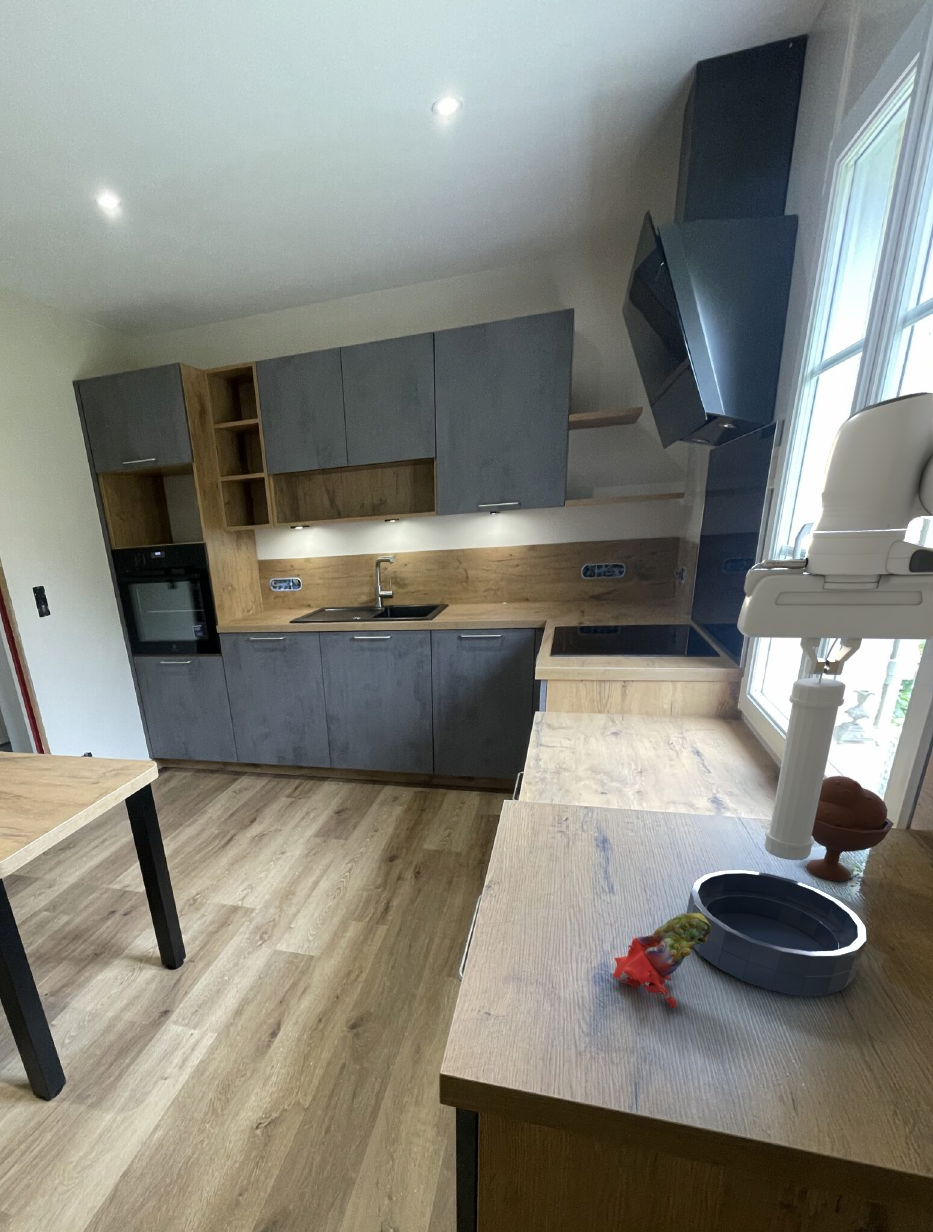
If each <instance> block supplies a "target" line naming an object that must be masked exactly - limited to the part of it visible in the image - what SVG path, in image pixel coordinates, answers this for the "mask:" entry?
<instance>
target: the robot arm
mask: <svg viewBox="0 0 933 1232" xmlns="http://www.w3.org/2000/svg"><path fill="white" fill-rule="evenodd" d="M827 457H828V458H827V461H826V464H825V468H824V472H823V475H822V480H821V485H820V489H819V499H820V505H819V506H820V507H819V512H818V515H817V517H816V519H815V521H814V523H813V525H812V527H811V529H810V534H809V538H808V543H807V546H806V547H807V548H806V553H805V557H804V558H789V559H788V558H787V559H776V558H774V559H773V558H770V559H763V560H762V561H761V562H760V563H757V564H755V565H753V566H752V567H751V568H750V569H749V570H748V571H747V573H746V576H745V579H744V584H743V592H744V594H745V597H744V600H743V603H742V604H741V605H742V606H741V609H740V612H739V616H738V619H737V625H736V627H737V629H738V631H739V632H740V633H741V634H742V635H743V636H745V637H746V638H763V639H765V638H766V639H767V638H772V639H773V638H774V639H776V638H778V639H800V644H799V645H800V647H801V649H802V652H803V655H804V656H805V658H806V662H805V667H804V673H806V674H807V675H811V676H812V675H819V676H820V675H822V676H823V675H826V676H841V675H842V674H843V671H844V665H845V662H847V661H848V660H850V659H851V657H853V656H854V654H855V653H857V652H858V651H859V650H860V648H861V645H862V641H863V640H933V547H930V546H926V545H924V544H921V543H914V542H910V541H907V535H908V531H909V528H910V524H911V522H912V521H913V520H915V519H917V518H923V519H927V520H930V521H933V392H927V391H923V392H916V393H909V394H904V395H900V396H896V397H892V398H889V399H888V398H887V399H885V400H882V401H879V402H877V403H874V404H869V405H867V406H865V407H862V408H861V409H859V410H857V411H856V412H854V413H853V414H852V415H850V416H849V417H848V418H847V419H846V420H845V421H844V422H843V423H842V424H841V425H840V427H839V429H838V430H837V432H836V435H835V438H834V440H833V442H832V445H831V448H830V451H829V454H828V456H827ZM836 638H838V639H840V641H839V644H840V645H841V646H843V647H842V648H841V649H840V650H839V651H838V652H837V653H836V655H834V656H833V658H828V659H827V662H826V661H825V659H823V658H821V657H820V658H819V657H818V656H817V654H816V653H817V652H816V651H815V649H814V648H819V647H820V645H821V641H822V639H836ZM823 668H824V669H823Z"/></svg>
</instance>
